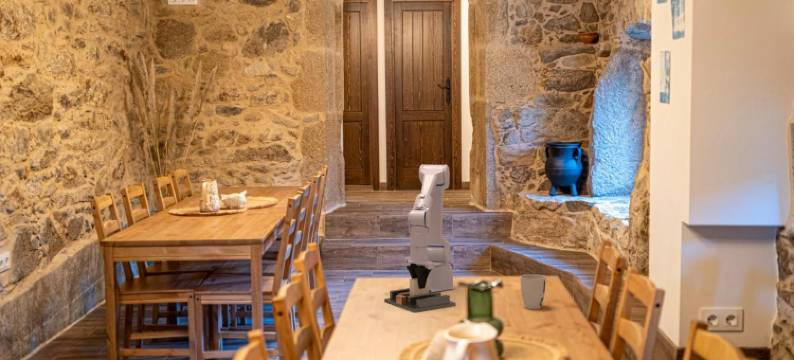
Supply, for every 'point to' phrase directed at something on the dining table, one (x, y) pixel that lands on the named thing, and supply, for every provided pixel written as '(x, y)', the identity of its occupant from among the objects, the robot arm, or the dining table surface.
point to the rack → (418, 300)
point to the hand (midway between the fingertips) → (419, 287)
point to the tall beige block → (415, 289)
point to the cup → (533, 290)
